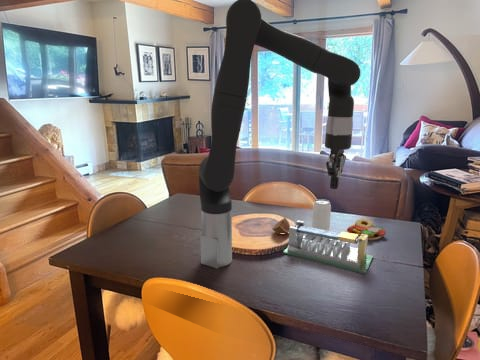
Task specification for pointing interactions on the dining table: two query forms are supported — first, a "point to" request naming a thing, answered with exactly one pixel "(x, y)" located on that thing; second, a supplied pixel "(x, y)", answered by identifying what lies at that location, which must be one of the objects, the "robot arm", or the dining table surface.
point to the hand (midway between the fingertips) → (334, 188)
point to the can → (321, 214)
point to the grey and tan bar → (329, 234)
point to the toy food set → (366, 229)
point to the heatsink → (329, 250)
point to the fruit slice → (282, 226)
